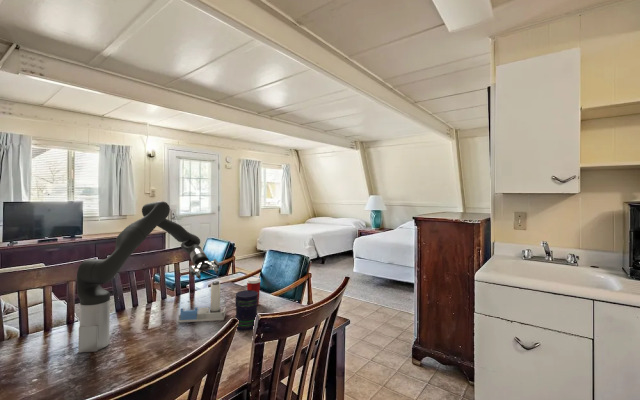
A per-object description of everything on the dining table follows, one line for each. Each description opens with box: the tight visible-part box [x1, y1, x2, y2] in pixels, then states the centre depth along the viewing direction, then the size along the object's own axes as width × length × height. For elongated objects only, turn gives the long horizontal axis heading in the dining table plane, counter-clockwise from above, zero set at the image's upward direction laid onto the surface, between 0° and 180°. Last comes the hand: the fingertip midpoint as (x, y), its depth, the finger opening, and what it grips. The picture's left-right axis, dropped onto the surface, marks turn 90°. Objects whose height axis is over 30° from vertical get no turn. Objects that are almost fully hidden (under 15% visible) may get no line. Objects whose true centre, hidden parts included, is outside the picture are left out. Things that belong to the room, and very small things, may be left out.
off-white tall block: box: [209, 280, 222, 313], centre depth 144 cm, size 5×5×16 cm
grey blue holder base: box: [178, 306, 227, 323], centre depth 143 cm, size 8×20×6 cm, turn 101°
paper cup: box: [245, 277, 262, 305], centre depth 162 cm, size 8×8×14 cm
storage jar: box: [235, 290, 259, 332], centre depth 134 cm, size 10×10×15 cm
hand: (208, 275), depth 150 cm, fingers open, 8 cm apart
